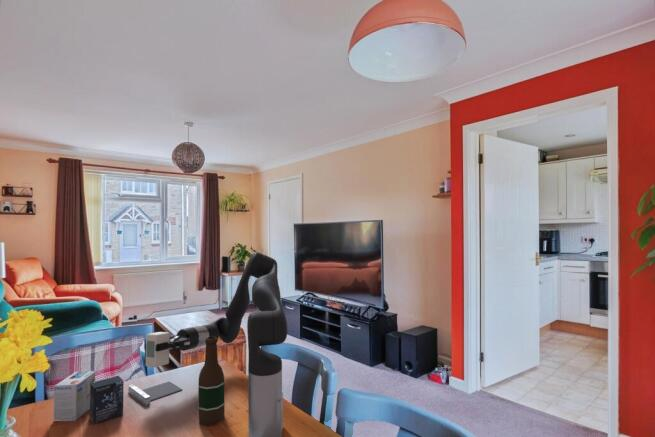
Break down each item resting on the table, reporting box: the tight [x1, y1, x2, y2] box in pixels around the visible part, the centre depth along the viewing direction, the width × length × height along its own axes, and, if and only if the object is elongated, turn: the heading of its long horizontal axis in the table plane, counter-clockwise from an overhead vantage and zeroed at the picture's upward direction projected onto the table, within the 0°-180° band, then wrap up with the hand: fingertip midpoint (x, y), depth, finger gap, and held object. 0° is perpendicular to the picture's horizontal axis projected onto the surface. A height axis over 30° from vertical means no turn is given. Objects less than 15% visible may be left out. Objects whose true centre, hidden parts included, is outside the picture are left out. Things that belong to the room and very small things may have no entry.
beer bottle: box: [197, 337, 226, 427], centre depth 110 cm, size 8×8×24 cm
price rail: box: [128, 384, 151, 407], centre depth 124 cm, size 2×14×2 cm, turn 48°
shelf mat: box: [141, 381, 183, 402], centre depth 128 cm, size 12×10×1 cm
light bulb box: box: [53, 370, 96, 422], centre depth 114 cm, size 11×7×11 cm, turn 5°
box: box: [89, 375, 125, 425], centre depth 112 cm, size 8×6×11 cm
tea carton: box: [145, 331, 170, 368], centre depth 122 cm, size 5×5×10 cm
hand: (150, 347), depth 120 cm, fingers closed on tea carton, 5 cm apart
